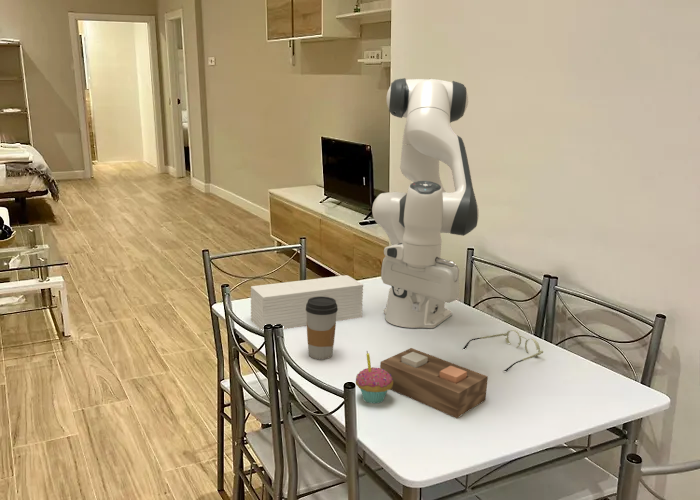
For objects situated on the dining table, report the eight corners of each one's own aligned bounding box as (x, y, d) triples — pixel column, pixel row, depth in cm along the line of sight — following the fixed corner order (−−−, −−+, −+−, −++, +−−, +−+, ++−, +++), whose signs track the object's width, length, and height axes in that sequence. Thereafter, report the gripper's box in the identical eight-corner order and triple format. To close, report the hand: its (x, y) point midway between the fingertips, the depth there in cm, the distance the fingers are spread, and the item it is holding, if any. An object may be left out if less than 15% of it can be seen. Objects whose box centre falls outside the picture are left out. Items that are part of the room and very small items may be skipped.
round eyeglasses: (546, 363, 172) (548, 345, 171) (504, 374, 165) (506, 356, 163) (501, 340, 186) (503, 324, 185) (460, 350, 179) (461, 333, 177)
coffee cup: (332, 363, 167) (333, 307, 163) (300, 359, 168) (301, 304, 164) (339, 350, 174) (341, 297, 171) (309, 347, 176) (310, 294, 172)
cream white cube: (411, 366, 159) (412, 351, 158) (426, 372, 156) (427, 357, 155) (400, 372, 155) (401, 356, 154) (415, 378, 153) (416, 362, 152)
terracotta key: (449, 381, 151) (450, 365, 150) (465, 387, 149) (466, 371, 148) (438, 387, 148) (439, 371, 147) (454, 393, 145) (456, 377, 144)
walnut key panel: (409, 369, 164) (411, 347, 163) (485, 400, 150) (487, 376, 148) (379, 384, 156) (380, 361, 154) (456, 418, 141) (458, 393, 140)
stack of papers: (346, 307, 209) (347, 275, 206) (361, 318, 200) (363, 284, 197) (250, 320, 194) (250, 286, 192) (263, 333, 185) (263, 297, 182)
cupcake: (361, 409, 144) (363, 359, 141) (350, 391, 152) (352, 344, 149) (397, 405, 146) (400, 355, 143) (385, 388, 154) (387, 341, 151)
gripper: (467, 260, 144) (462, 319, 147) (395, 242, 157) (392, 296, 160) (451, 265, 139) (446, 326, 143) (378, 247, 152) (375, 302, 156)
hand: (417, 310), depth 152 cm, fingers closed
